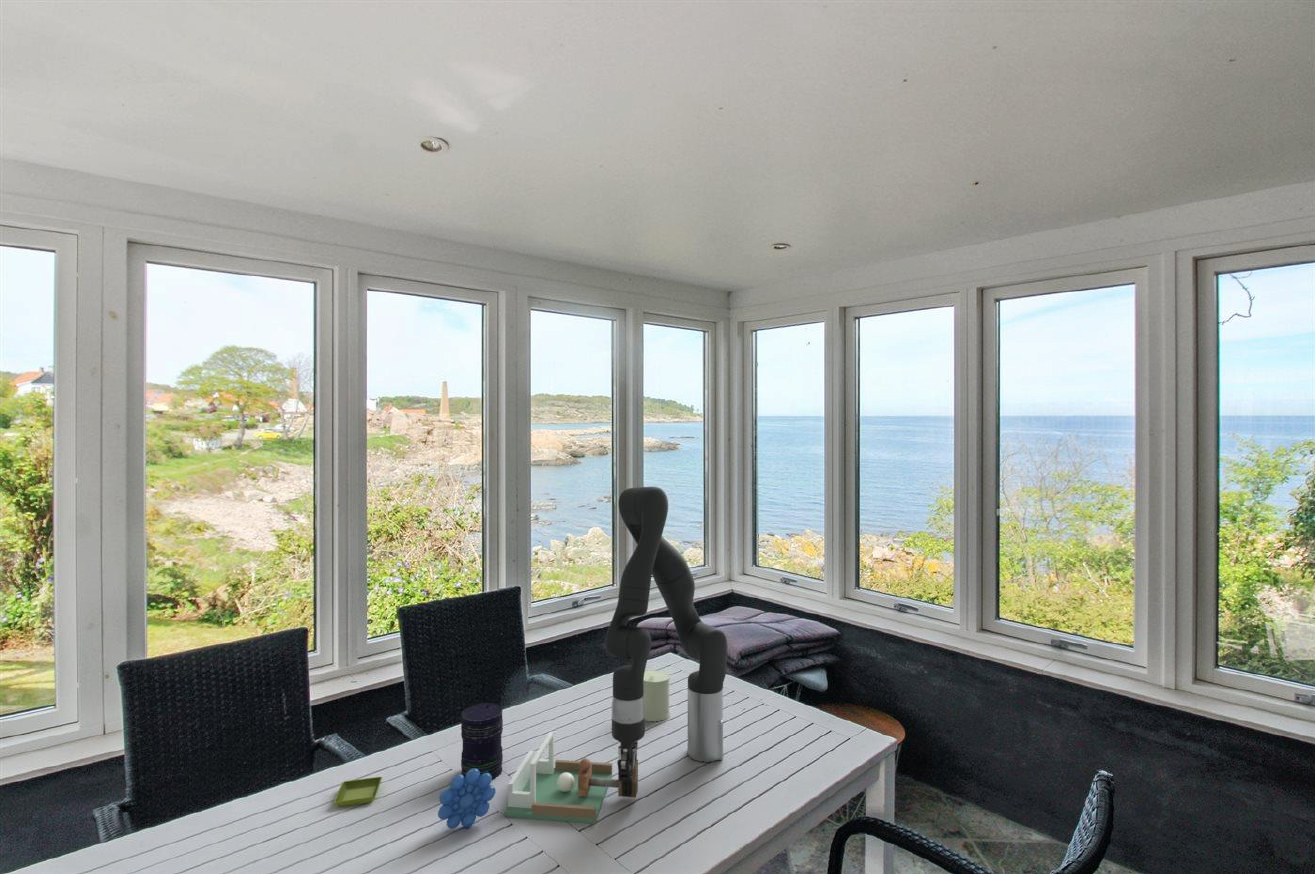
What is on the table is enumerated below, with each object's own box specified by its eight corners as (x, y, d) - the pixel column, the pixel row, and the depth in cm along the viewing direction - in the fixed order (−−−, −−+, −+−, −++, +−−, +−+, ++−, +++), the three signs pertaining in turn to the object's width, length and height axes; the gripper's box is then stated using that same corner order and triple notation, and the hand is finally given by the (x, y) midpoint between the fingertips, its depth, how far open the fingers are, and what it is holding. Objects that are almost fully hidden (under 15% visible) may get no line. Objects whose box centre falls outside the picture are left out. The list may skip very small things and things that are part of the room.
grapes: (494, 810, 137) (494, 755, 137) (496, 828, 130) (496, 771, 130) (438, 819, 133) (438, 763, 133) (437, 839, 127) (437, 780, 127)
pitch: (612, 775, 151) (612, 731, 151) (595, 823, 132) (595, 772, 132) (532, 770, 153) (532, 726, 153) (504, 816, 135) (504, 766, 135)
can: (634, 719, 181) (634, 678, 182) (644, 706, 190) (644, 667, 190) (664, 723, 179) (664, 681, 179) (673, 710, 188) (673, 670, 188)
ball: (576, 786, 144) (576, 769, 144) (572, 796, 140) (572, 778, 140) (559, 785, 145) (559, 768, 145) (554, 795, 141) (554, 777, 141)
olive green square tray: (333, 811, 137) (333, 802, 137) (342, 789, 145) (342, 780, 145) (375, 805, 139) (375, 796, 139) (382, 784, 148) (382, 775, 148)
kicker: (638, 787, 143) (638, 756, 143) (635, 799, 138) (635, 768, 138) (582, 783, 145) (582, 753, 145) (576, 795, 140) (576, 764, 140)
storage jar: (491, 785, 146) (491, 722, 147) (453, 781, 148) (453, 718, 148) (509, 764, 156) (509, 704, 156) (473, 760, 158) (473, 701, 158)
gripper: (640, 729, 134) (639, 810, 134) (648, 702, 148) (648, 775, 147) (605, 728, 134) (605, 807, 134) (617, 700, 148) (617, 772, 148)
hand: (628, 790), depth 141 cm, fingers closed on kicker, 3 cm apart
